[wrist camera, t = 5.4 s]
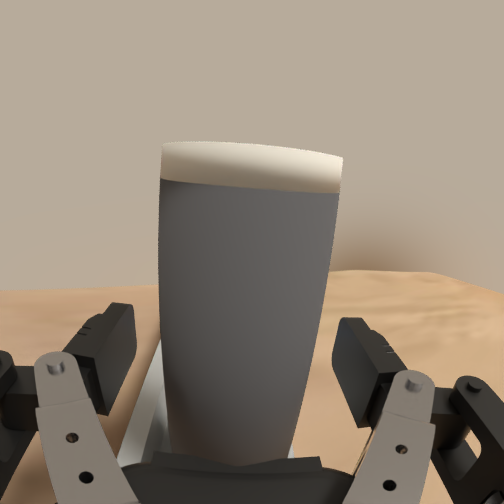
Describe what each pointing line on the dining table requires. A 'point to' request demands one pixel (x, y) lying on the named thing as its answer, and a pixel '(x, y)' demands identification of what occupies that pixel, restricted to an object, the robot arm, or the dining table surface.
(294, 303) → the gray cylinder
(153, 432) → the grey slotted rack
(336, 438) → the dining table surface
